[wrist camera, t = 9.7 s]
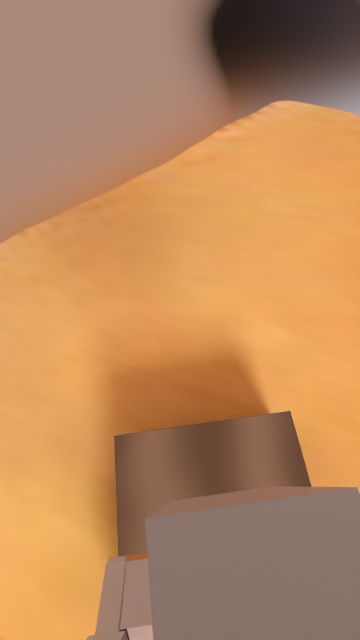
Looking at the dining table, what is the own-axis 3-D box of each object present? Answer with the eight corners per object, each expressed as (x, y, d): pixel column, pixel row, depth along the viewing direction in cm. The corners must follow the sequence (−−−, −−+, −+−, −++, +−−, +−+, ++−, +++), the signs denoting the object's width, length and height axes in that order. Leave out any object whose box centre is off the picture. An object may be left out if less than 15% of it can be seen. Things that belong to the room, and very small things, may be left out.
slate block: (187, 630, 11) (169, 878, 4) (173, 500, 13) (144, 518, 6) (300, 613, 11) (472, 828, 4) (270, 486, 13) (356, 487, 6)
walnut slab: (138, 641, 21) (123, 684, 16) (128, 444, 26) (114, 436, 22) (322, 613, 21) (356, 648, 17) (274, 423, 26) (290, 411, 22)
